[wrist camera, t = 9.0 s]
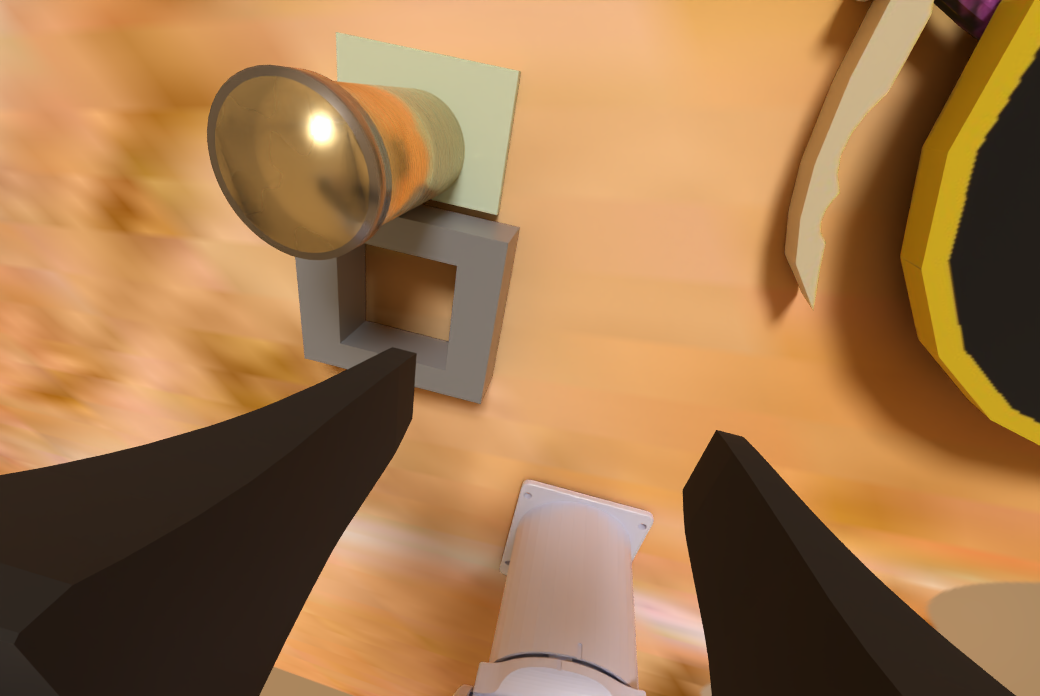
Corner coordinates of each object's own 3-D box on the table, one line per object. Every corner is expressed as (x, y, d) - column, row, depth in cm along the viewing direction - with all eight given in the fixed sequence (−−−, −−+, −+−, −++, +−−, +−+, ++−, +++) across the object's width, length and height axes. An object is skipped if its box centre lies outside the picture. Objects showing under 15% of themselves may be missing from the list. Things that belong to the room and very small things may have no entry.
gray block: (492, 375, 23) (480, 404, 21) (332, 334, 23) (304, 358, 21) (519, 227, 19) (508, 243, 16) (324, 181, 19) (289, 191, 17)
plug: (463, 212, 18) (377, 276, 11) (366, 190, 19) (225, 240, 12) (475, 94, 16) (378, 86, 9) (365, 71, 16) (189, 46, 9)
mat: (498, 212, 18) (496, 215, 18) (345, 177, 19) (340, 178, 18) (520, 71, 16) (519, 70, 15) (341, 33, 16) (335, 31, 16)
